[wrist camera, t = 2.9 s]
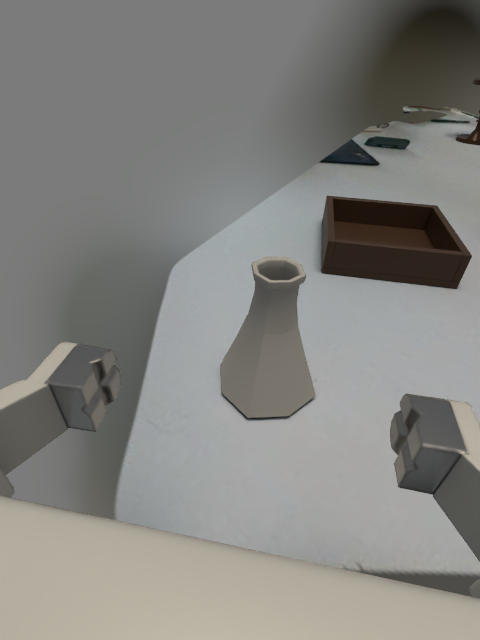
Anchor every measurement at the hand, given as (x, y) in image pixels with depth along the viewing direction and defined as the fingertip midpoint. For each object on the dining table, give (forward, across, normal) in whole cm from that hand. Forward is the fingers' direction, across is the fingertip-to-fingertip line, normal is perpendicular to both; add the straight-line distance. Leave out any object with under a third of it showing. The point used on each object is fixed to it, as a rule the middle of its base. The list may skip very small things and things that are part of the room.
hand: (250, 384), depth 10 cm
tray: (+37, -11, +13) cm, 41 cm away
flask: (+12, 0, +13) cm, 18 cm away
